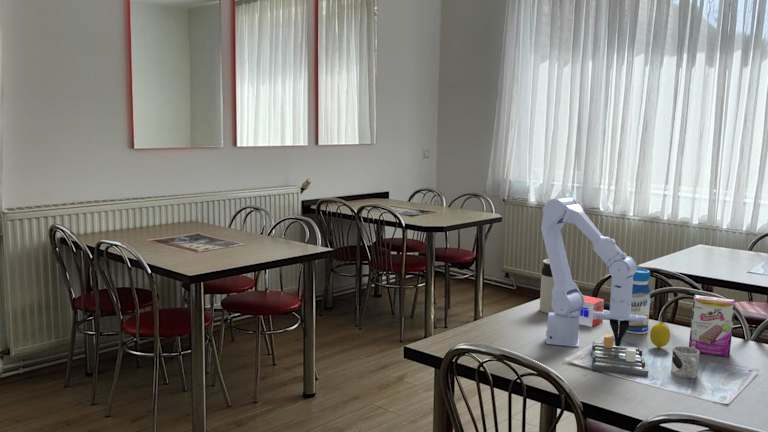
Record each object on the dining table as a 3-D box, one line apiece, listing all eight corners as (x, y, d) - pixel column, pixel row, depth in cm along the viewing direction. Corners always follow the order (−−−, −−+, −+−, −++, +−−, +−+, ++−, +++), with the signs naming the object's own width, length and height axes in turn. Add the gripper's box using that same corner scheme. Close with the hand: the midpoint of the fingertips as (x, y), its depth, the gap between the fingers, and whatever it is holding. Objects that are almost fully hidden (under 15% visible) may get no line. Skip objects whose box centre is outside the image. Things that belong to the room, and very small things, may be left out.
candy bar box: (688, 352, 209) (693, 297, 207) (688, 347, 214) (693, 294, 211) (730, 358, 205) (735, 303, 202) (730, 353, 209) (735, 299, 207)
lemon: (670, 352, 209) (672, 325, 208) (650, 350, 210) (652, 324, 209) (666, 346, 214) (669, 320, 213) (647, 344, 215) (649, 319, 214)
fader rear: (603, 350, 204) (604, 337, 203) (603, 346, 207) (604, 333, 207) (612, 351, 203) (613, 338, 203) (612, 347, 207) (612, 334, 206)
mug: (667, 369, 195) (669, 345, 194) (691, 369, 195) (693, 346, 194) (681, 382, 185) (683, 358, 184) (706, 383, 185) (709, 359, 184)
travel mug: (558, 315, 244) (561, 264, 241) (536, 312, 248) (538, 261, 246) (565, 310, 251) (568, 260, 248) (543, 307, 255) (546, 257, 252)
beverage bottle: (651, 329, 230) (655, 269, 227) (645, 336, 223) (649, 274, 220) (624, 325, 235) (628, 266, 232) (617, 331, 228) (622, 270, 225)
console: (592, 370, 192) (592, 360, 192) (591, 347, 211) (592, 338, 211) (648, 376, 189) (648, 366, 188) (642, 352, 208) (643, 343, 207)
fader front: (625, 364, 193) (626, 350, 192) (624, 360, 196) (625, 346, 196) (634, 365, 192) (635, 351, 192) (634, 361, 196) (635, 347, 195)
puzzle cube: (602, 322, 238) (604, 299, 237) (592, 327, 232) (593, 303, 231) (580, 317, 243) (581, 294, 242) (569, 322, 237) (571, 299, 236)
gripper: (594, 300, 201) (591, 346, 203) (649, 305, 197) (645, 352, 199) (594, 294, 207) (591, 339, 209) (647, 299, 203) (643, 344, 205)
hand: (617, 345), depth 204 cm, fingers closed
